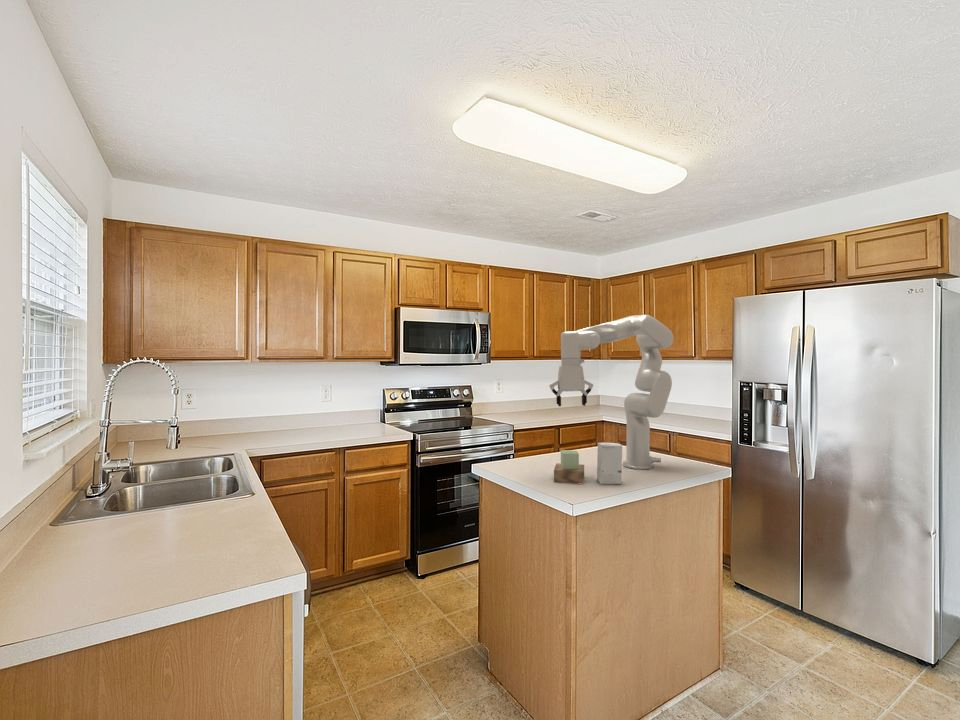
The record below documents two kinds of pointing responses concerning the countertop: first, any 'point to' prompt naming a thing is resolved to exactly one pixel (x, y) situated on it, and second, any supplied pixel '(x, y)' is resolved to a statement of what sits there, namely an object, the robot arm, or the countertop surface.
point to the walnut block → (569, 474)
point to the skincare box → (609, 463)
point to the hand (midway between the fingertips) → (571, 405)
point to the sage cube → (569, 459)
